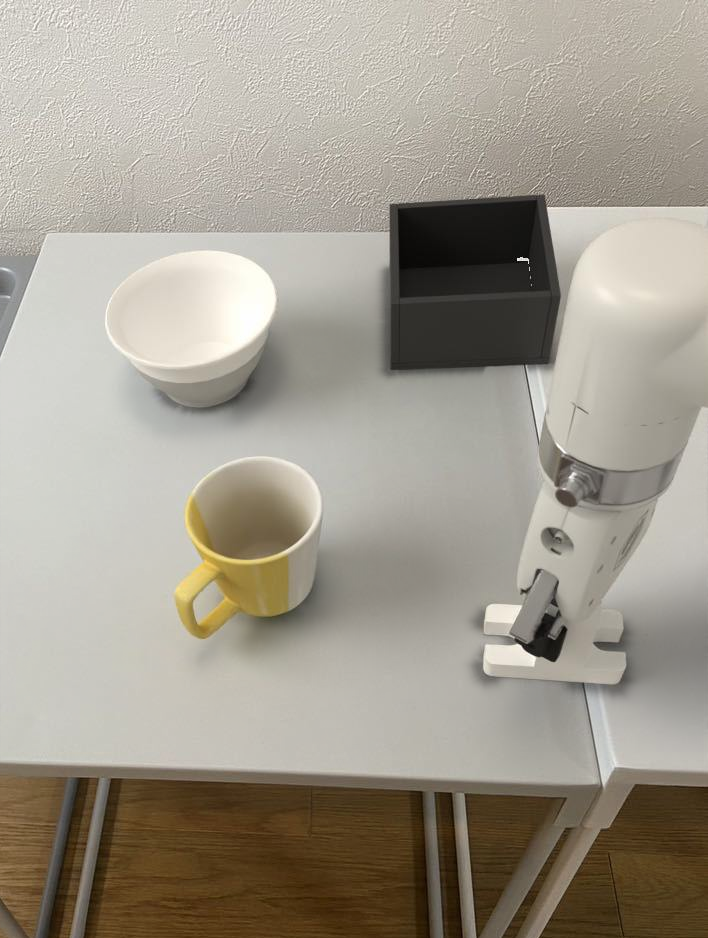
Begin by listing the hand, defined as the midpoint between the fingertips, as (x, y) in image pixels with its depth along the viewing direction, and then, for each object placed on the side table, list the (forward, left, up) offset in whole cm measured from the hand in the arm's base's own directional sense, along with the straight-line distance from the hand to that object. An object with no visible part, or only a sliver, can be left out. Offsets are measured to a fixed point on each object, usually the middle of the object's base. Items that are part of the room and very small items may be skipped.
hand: (561, 613), depth 66 cm
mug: (+22, +9, -5) cm, 24 cm away
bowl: (+42, -9, -5) cm, 43 cm away
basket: (+25, -29, -5) cm, 39 cm away
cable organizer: (0, 0, -5) cm, 5 cm away
